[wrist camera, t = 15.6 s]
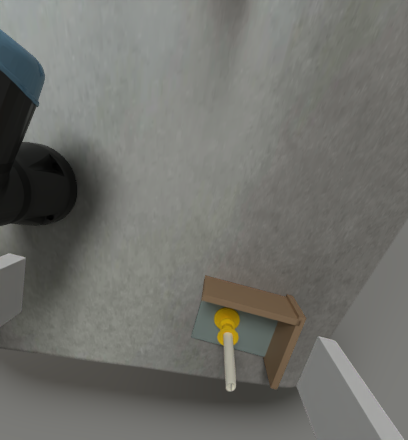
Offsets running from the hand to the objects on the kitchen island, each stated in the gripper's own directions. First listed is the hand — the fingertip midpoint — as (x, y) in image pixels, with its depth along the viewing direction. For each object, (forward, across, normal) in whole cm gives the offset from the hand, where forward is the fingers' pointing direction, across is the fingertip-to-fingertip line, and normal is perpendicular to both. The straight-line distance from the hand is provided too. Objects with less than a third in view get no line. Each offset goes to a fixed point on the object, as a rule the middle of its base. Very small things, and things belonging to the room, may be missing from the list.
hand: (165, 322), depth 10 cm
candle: (+32, +10, -21) cm, 40 cm away
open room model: (+33, +12, -21) cm, 41 cm away
